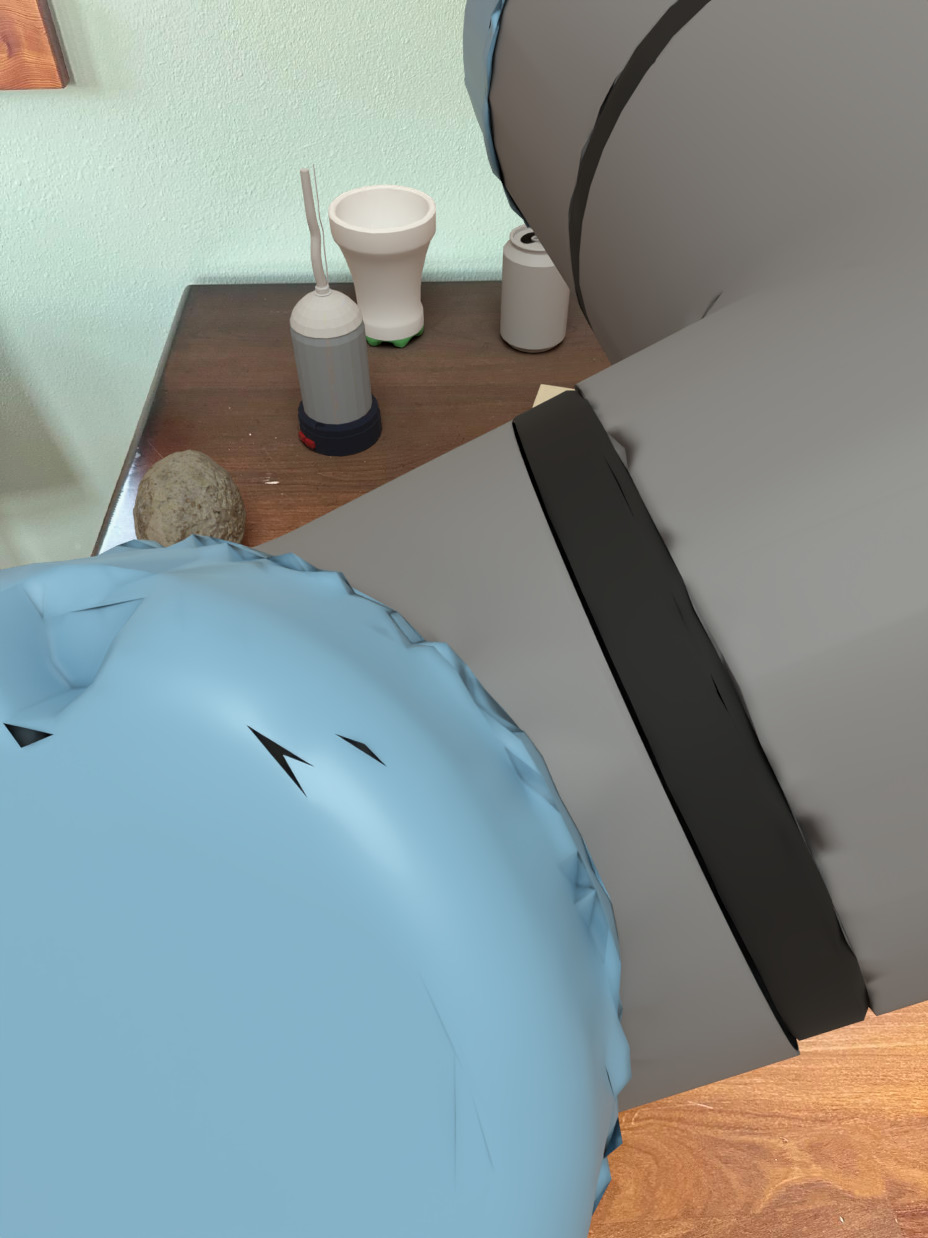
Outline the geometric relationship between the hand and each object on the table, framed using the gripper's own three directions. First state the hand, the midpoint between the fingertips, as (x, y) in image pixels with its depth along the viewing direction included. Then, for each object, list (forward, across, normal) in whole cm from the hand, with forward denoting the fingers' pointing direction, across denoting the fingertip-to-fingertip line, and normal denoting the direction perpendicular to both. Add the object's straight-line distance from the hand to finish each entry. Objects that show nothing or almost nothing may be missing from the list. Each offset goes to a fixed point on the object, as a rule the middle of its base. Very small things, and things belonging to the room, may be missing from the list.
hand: (544, 639), depth 43 cm
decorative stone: (+24, -32, -2) cm, 40 cm away
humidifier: (+39, -27, +13) cm, 49 cm away
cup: (+52, -28, +26) cm, 65 cm away
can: (+54, -12, +28) cm, 62 cm away
